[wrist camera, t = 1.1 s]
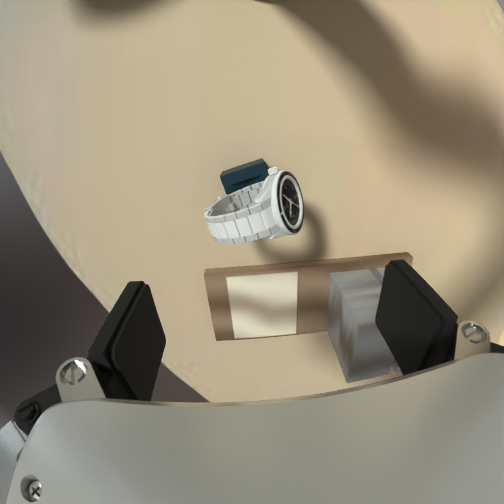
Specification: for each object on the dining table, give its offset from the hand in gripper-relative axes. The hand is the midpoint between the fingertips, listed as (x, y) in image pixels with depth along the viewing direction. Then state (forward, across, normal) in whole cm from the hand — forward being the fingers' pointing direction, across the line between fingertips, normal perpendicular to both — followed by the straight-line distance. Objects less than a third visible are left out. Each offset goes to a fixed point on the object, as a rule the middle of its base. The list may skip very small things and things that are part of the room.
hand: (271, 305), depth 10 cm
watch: (+20, 0, 0) cm, 20 cm away
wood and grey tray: (+20, -7, +14) cm, 25 cm away
